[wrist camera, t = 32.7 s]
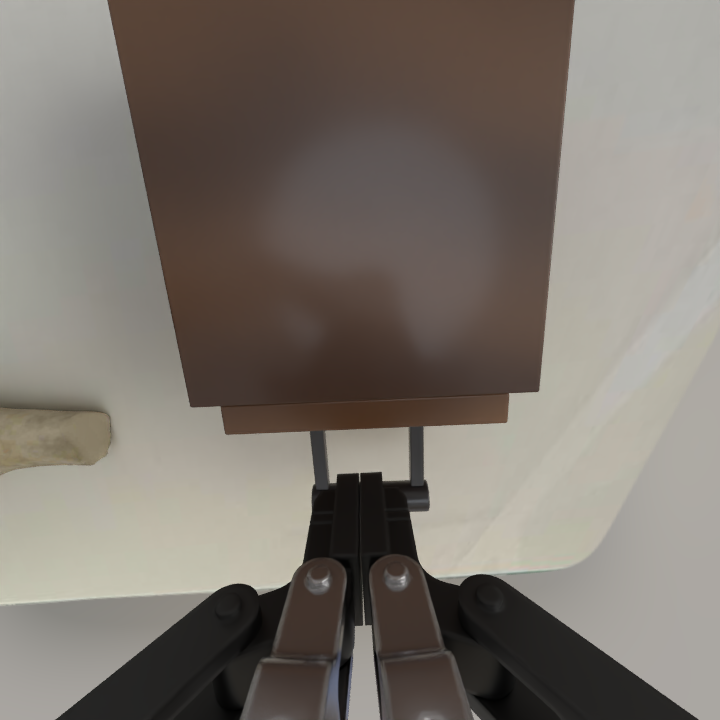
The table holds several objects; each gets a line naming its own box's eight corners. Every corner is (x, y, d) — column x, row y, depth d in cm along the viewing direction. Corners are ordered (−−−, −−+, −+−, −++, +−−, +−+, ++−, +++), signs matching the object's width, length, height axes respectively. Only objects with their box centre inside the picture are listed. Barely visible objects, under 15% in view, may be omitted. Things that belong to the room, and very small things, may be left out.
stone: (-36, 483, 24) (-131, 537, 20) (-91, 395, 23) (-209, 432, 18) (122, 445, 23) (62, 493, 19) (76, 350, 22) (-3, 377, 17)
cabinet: (467, 330, 21) (539, 392, 12) (261, 341, 21) (190, 408, 13) (476, 36, 17) (592, -182, 8) (222, 55, 17) (78, -136, 9)
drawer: (457, 454, 22) (499, 550, 15) (283, 461, 23) (246, 558, 16) (466, 98, 17) (537, -5, 10) (237, 113, 17) (150, 25, 10)
